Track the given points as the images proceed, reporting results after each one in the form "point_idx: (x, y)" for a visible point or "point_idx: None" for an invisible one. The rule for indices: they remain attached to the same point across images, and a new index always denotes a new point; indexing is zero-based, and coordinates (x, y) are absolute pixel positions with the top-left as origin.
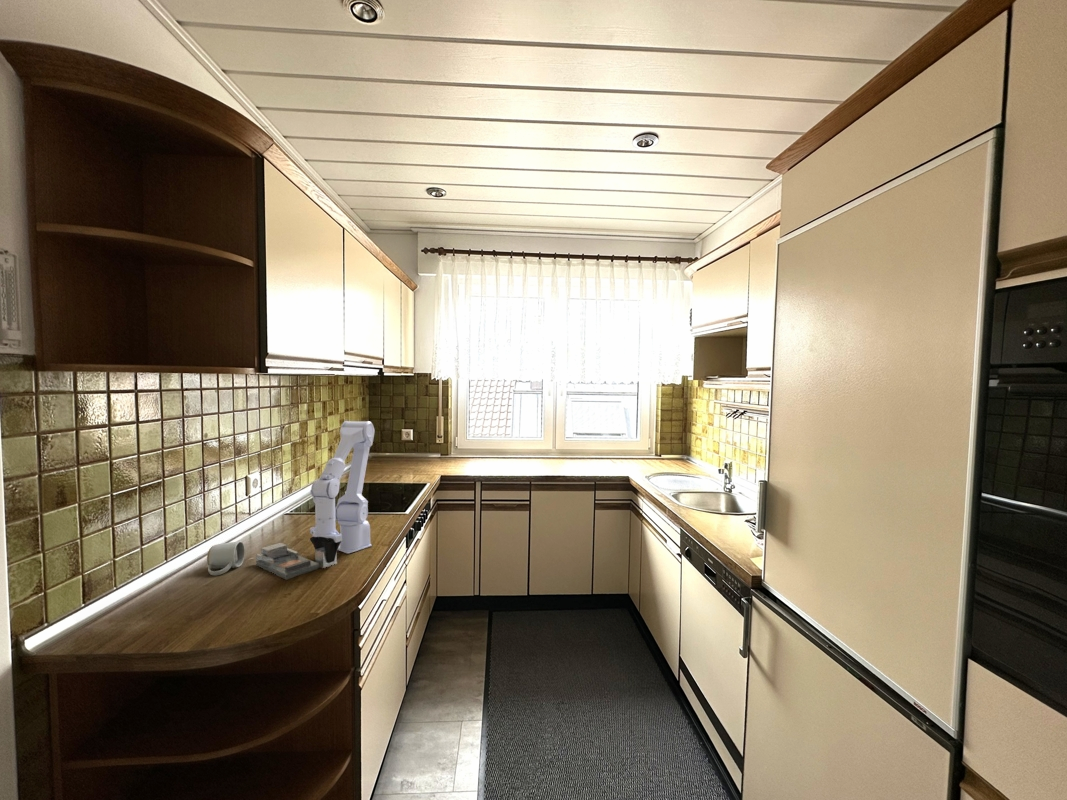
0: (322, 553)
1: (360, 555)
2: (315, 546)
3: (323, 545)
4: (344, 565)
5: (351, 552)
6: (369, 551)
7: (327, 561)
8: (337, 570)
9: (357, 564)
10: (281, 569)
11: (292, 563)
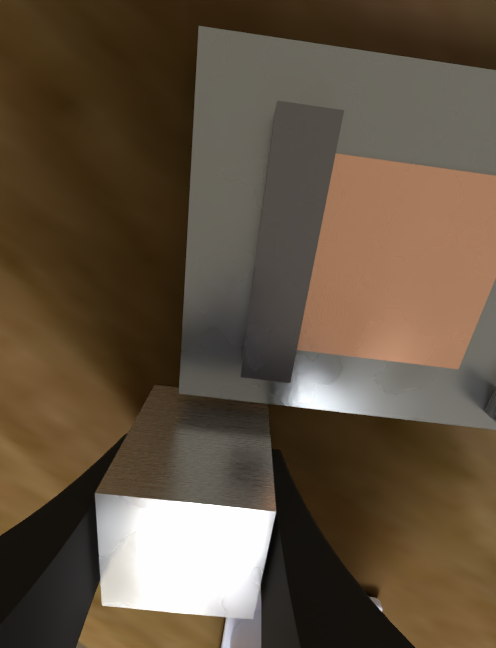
0: (117, 481)
1: None
2: (295, 555)
3: (3, 599)
4: None
5: None
6: (164, 636)
7: None
8: (37, 405)
9: None
10: (391, 112)
11: (406, 283)
